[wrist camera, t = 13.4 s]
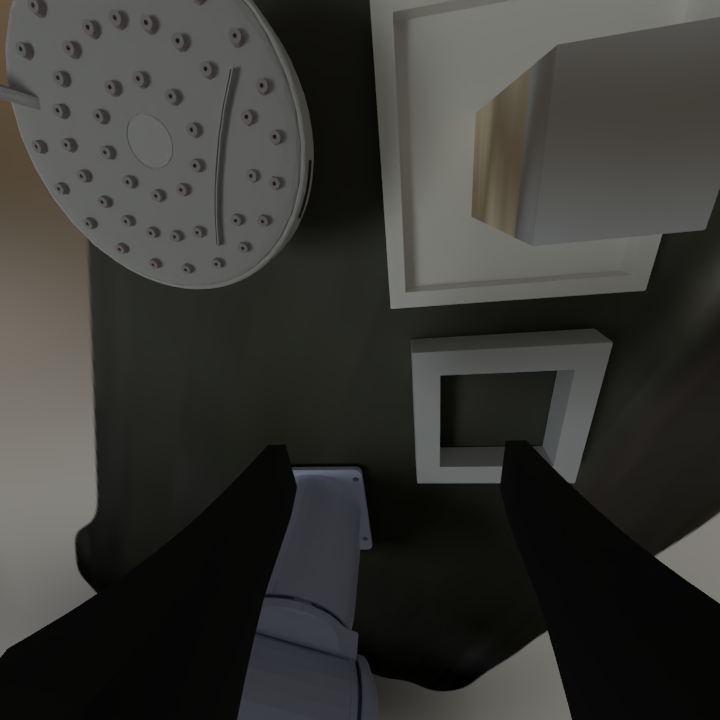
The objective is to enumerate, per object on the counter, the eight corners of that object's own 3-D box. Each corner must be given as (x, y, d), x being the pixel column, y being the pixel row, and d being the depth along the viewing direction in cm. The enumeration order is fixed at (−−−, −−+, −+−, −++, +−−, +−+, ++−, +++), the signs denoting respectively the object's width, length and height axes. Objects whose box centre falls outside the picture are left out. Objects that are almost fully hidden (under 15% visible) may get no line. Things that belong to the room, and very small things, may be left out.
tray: (626, 282, 17) (645, 290, 16) (391, 299, 19) (390, 308, 17) (718, -63, 11) (760, -94, 10) (371, 4, 13) (368, -15, 12)
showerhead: (-120, -200, 7) (334, -28, 8) (125, -20, 13) (362, 67, 14) (-9, 244, 12) (270, 331, 12) (134, 221, 18) (313, 279, 18)
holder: (562, 462, 23) (574, 483, 21) (415, 463, 24) (417, 483, 23) (594, 328, 18) (613, 342, 17) (410, 339, 20) (412, 353, 18)
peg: (561, 207, 15) (704, 230, 8) (471, 216, 16) (532, 246, 9) (579, 97, 13) (783, 5, 6) (475, 113, 14) (557, 44, 7)
